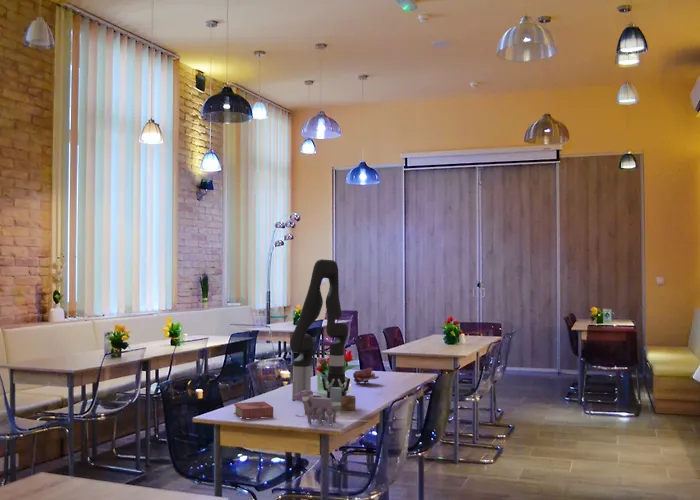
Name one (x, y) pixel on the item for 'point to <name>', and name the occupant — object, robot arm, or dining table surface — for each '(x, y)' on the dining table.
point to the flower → (364, 375)
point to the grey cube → (335, 394)
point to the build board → (340, 408)
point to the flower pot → (311, 406)
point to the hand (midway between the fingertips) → (335, 399)
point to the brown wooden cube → (348, 403)
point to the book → (253, 410)
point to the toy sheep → (317, 406)
